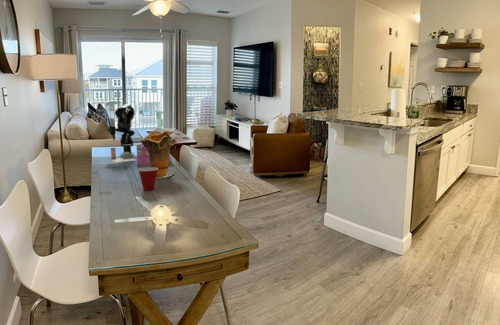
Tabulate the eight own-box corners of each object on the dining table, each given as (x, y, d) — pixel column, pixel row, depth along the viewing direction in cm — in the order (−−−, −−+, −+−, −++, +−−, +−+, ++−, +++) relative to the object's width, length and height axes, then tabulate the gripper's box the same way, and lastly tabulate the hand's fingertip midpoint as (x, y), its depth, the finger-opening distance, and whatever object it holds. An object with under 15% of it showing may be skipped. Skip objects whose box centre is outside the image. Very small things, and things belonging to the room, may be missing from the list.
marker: (110, 158, 297) (110, 148, 295) (115, 158, 299) (114, 147, 297) (112, 159, 294) (111, 148, 293) (116, 158, 296) (116, 148, 295)
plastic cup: (156, 185, 225) (156, 165, 223) (160, 190, 216) (159, 169, 213) (137, 187, 221) (136, 166, 219) (140, 192, 211) (139, 171, 209)
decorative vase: (142, 180, 234) (141, 133, 230) (142, 173, 256) (140, 130, 252) (178, 179, 240) (177, 132, 235) (175, 172, 262) (174, 129, 257)
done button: (123, 156, 297) (123, 152, 297) (128, 155, 300) (128, 151, 299) (125, 156, 295) (125, 153, 294) (130, 156, 297) (129, 152, 296)
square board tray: (108, 160, 292) (107, 155, 291) (129, 157, 302) (129, 152, 301) (115, 163, 280) (115, 158, 279) (137, 161, 290) (137, 156, 289)
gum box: (166, 159, 298) (165, 141, 295) (172, 160, 292) (171, 142, 289) (137, 163, 282) (136, 144, 279) (142, 165, 276) (141, 146, 273)
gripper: (113, 115, 285) (112, 135, 280) (138, 121, 297) (137, 140, 292) (107, 120, 293) (106, 140, 288) (131, 126, 305) (130, 145, 300)
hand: (120, 141), depth 292 cm, fingers open, 9 cm apart
